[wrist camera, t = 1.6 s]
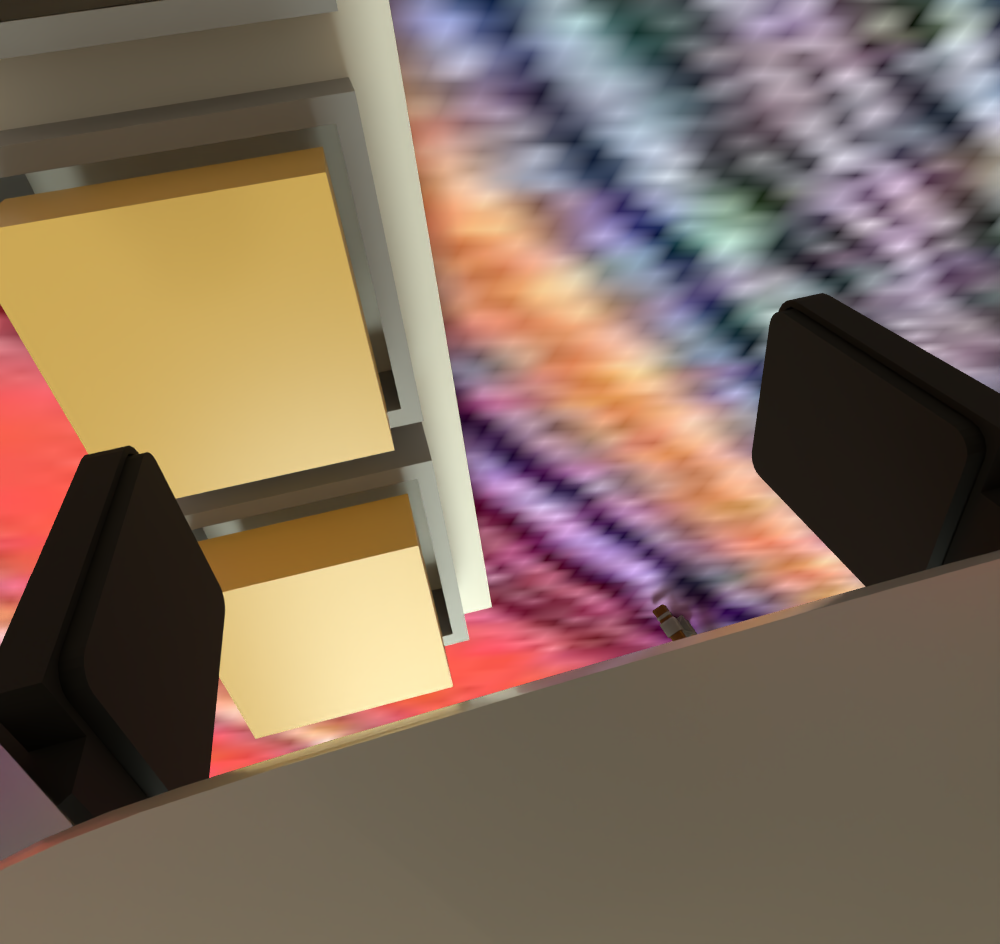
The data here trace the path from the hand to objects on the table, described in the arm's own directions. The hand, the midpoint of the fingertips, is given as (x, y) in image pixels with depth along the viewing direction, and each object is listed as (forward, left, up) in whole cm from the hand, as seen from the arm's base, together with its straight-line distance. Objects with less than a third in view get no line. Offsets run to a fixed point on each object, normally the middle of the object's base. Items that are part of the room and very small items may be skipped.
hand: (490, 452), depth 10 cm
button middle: (+5, 0, -7) cm, 8 cm away
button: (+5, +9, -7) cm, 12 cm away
